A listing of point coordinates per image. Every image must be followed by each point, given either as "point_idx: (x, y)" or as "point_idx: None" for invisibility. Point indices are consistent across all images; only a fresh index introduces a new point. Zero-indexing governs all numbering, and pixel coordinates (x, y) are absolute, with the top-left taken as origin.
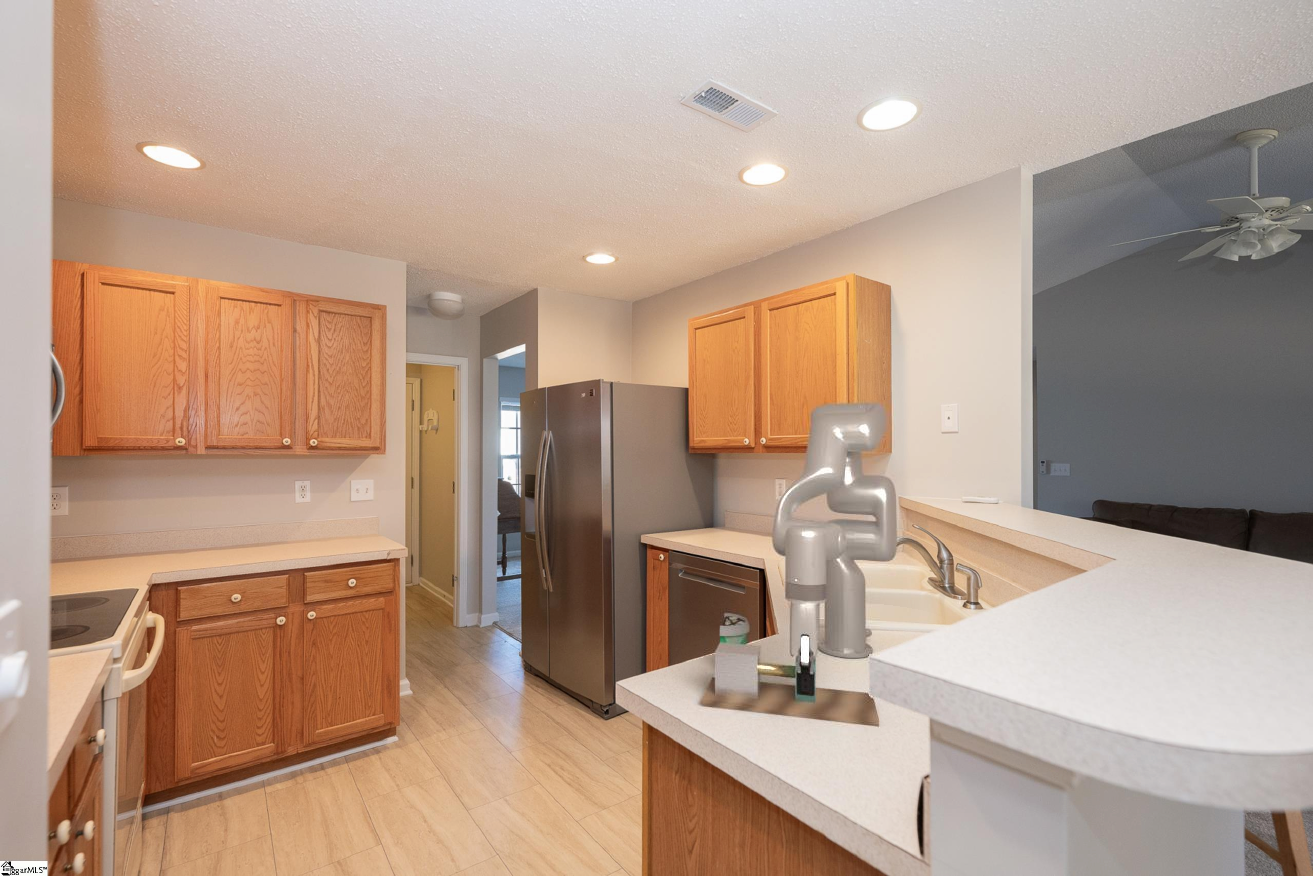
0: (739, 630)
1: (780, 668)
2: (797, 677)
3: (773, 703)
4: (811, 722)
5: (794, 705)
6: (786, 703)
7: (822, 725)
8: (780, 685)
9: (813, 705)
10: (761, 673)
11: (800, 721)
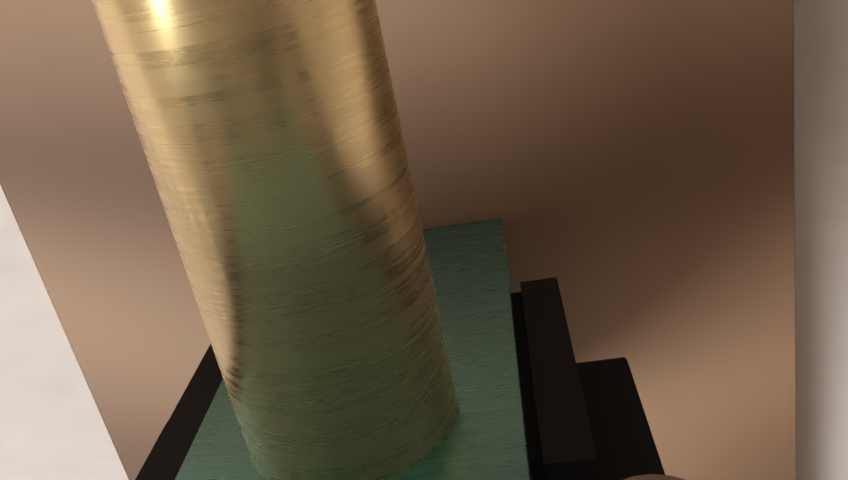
0: None
1: (168, 214)
2: (158, 464)
3: (52, 41)
4: (62, 399)
5: (148, 268)
6: (151, 180)
7: (64, 475)
8: None
9: None
10: None
11: (19, 319)
